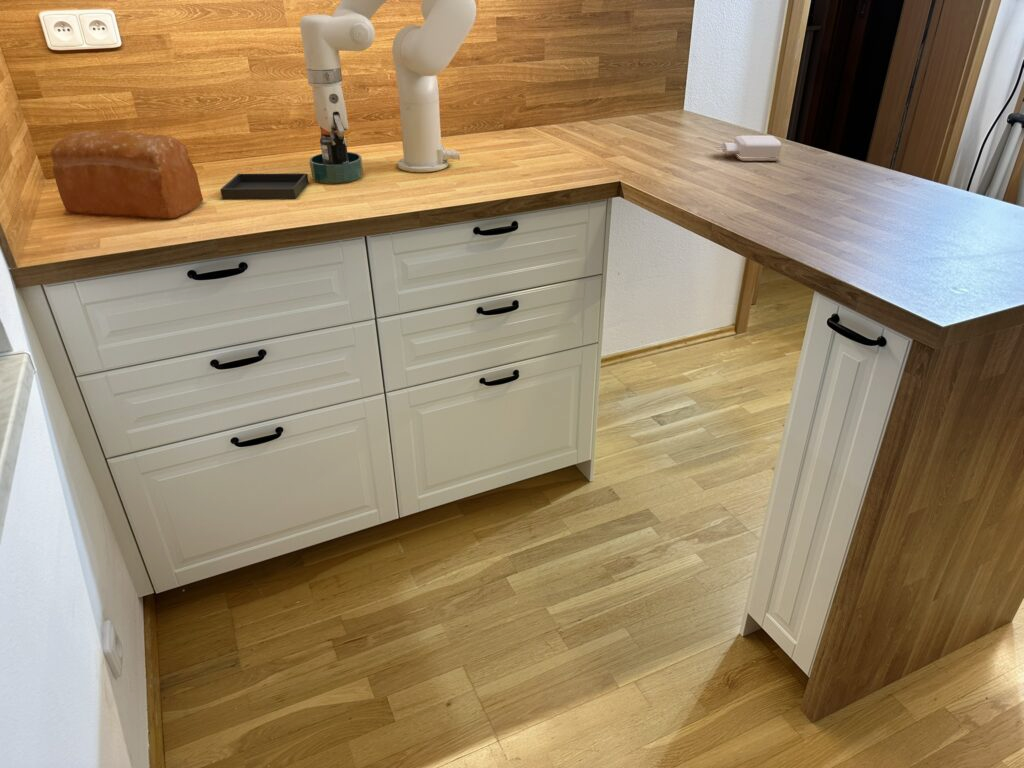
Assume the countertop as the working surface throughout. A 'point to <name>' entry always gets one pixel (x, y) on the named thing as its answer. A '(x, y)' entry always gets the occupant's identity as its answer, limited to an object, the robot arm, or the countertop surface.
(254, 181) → the tray
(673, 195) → the countertop surface
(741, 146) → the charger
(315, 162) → the bowl
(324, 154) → the pill bottle
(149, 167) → the bread
